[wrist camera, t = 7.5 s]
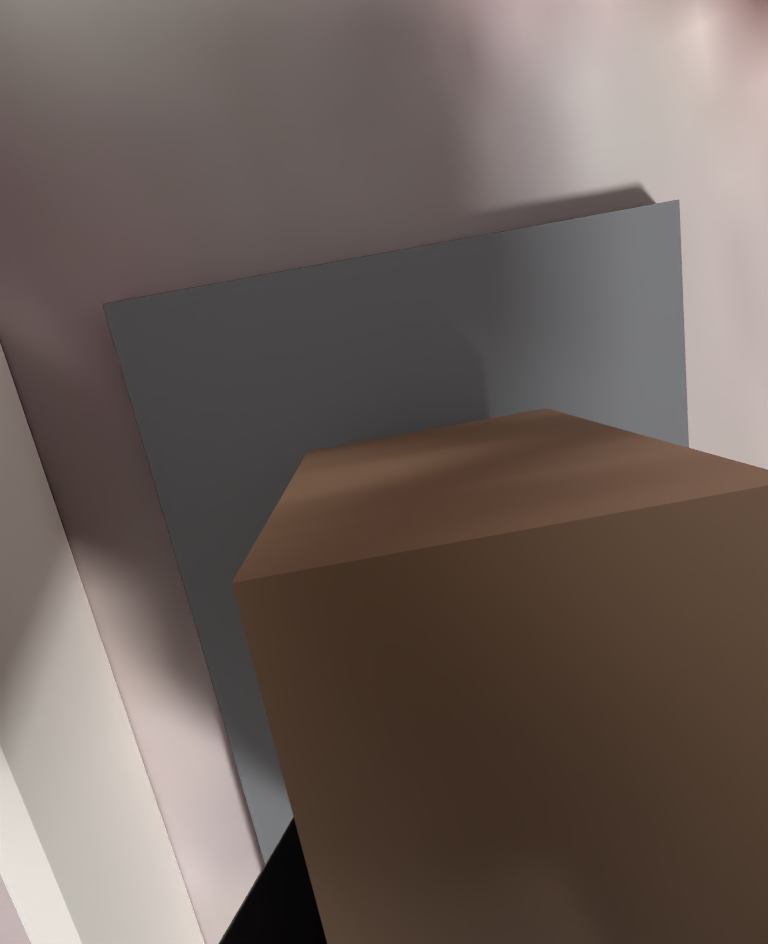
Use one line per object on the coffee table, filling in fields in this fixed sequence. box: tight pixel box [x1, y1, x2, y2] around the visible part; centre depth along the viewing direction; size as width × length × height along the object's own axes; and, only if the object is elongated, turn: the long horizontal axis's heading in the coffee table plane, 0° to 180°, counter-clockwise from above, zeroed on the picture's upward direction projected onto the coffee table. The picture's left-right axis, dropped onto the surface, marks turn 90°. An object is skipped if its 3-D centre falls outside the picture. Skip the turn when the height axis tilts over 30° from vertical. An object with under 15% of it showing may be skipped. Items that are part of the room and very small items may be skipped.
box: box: [232, 408, 768, 944], centre depth 7 cm, size 4×10×5 cm, turn 10°
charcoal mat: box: [102, 200, 689, 864], centre depth 11 cm, size 10×16×1 cm, turn 10°
